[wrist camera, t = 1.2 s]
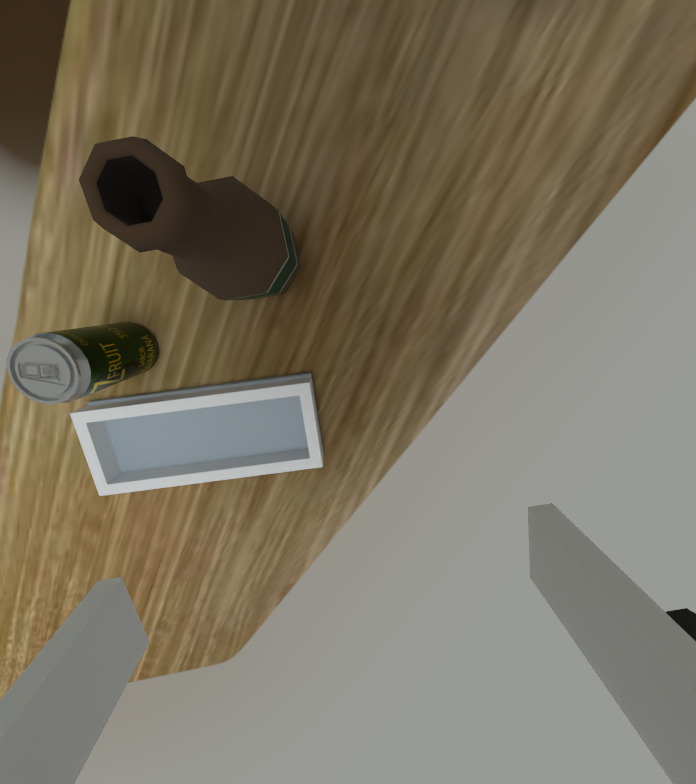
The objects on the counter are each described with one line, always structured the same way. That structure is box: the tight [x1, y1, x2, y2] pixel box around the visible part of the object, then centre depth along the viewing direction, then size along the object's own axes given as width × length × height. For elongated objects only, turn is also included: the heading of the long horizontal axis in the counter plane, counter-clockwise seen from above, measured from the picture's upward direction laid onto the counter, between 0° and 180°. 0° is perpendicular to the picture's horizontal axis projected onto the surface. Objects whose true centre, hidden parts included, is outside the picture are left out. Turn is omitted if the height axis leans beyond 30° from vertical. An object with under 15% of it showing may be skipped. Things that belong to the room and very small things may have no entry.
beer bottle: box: [79, 137, 301, 300], centre depth 23 cm, size 8×8×24 cm
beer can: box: [7, 322, 157, 404], centre depth 31 cm, size 5×5×12 cm
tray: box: [70, 372, 324, 496], centre depth 38 cm, size 10×24×4 cm, turn 97°
